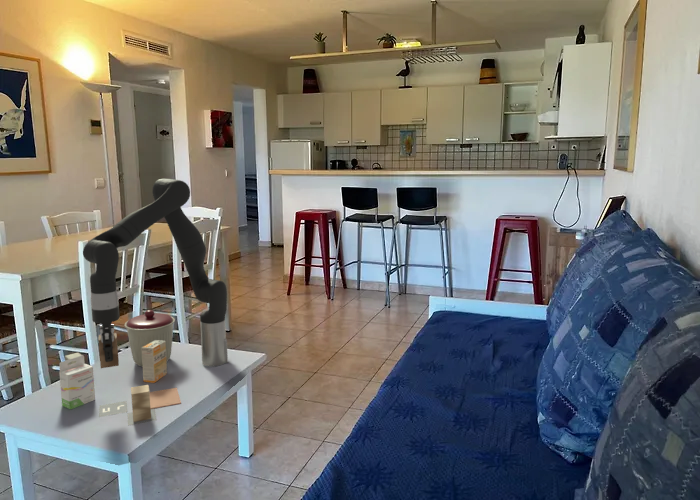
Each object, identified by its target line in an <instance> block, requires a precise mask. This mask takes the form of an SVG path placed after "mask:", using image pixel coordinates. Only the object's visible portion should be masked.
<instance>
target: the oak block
mask: <svg viewBox="0 0 700 500" xmlns="http://www.w3.org/2000/svg"><path fill="white" fill-rule="evenodd" d="M149 392H150V386H149V384H144V385H139V386H132V387H130V395H131V407H132V409H131V410H132V412H133V422H137V421H142V420H148V419H151V409H150V393H149Z"/></svg>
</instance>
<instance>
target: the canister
mask: <svg viewBox="0 0 700 500" xmlns="http://www.w3.org/2000/svg"><path fill="white" fill-rule="evenodd" d="M175 322H176V321H175V317H173V316H171V315H169V314H168V313H167V314H166V313H159V312H157V313H156V312H155V311H154V310H153V309H147V310H146V311H145V312H144V314H140V315H136V316H133V317H131V318H130V319H128V320H127V321H125V323H124V327H125V329H126V331H127V336H128V341H129V346H130V353H131V356H132V359H133V362H134V364H136V365H137V366H139V367H143V365H142V349H141V348H142V347H143V346H145V345H147V344H149V343H150V342H152V341H154V340H162V341H166V363H167V362H168V361H169V360H170V359H171V355H172V349H173V348H172V347H173V335H174V334H173V332H174V324H175Z"/></svg>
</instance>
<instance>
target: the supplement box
mask: <svg viewBox="0 0 700 500" xmlns="http://www.w3.org/2000/svg"><path fill="white" fill-rule="evenodd" d="M141 349H142V365H143V366H142V378H143V379H142V380H143V382H144V383H151V384H155V383H157V382H159V380H160V379H162V378H163V377H165V376H166V375H167V374H168V369H167V368H168V367H167V366H168V365H167V362H166V341H162V340H154V341H152V342H150V343H149V344H147V345H145V346H143V347H142V348H141Z"/></svg>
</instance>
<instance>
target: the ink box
mask: <svg viewBox="0 0 700 500" xmlns="http://www.w3.org/2000/svg"><path fill="white" fill-rule="evenodd" d="M81 355H82V356H79V357H75V358H72V359H69V360H63V361H60V362H59V373H58V374H59V384H60V385H59V386H60V395H61V406H62V407H64V408H67V409H68V410H73V409H77V408H79V407H81V406H83V405H86V404H88V403H90V402H92V401H95V400H96V391H95V378H94V377H95V375H94V367H93V366H92V365H90V364H87V363H85V364H84V360H85V355H83V354H81ZM71 361H76V363H73V364H70V365H68V363H70V362H71Z"/></svg>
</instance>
